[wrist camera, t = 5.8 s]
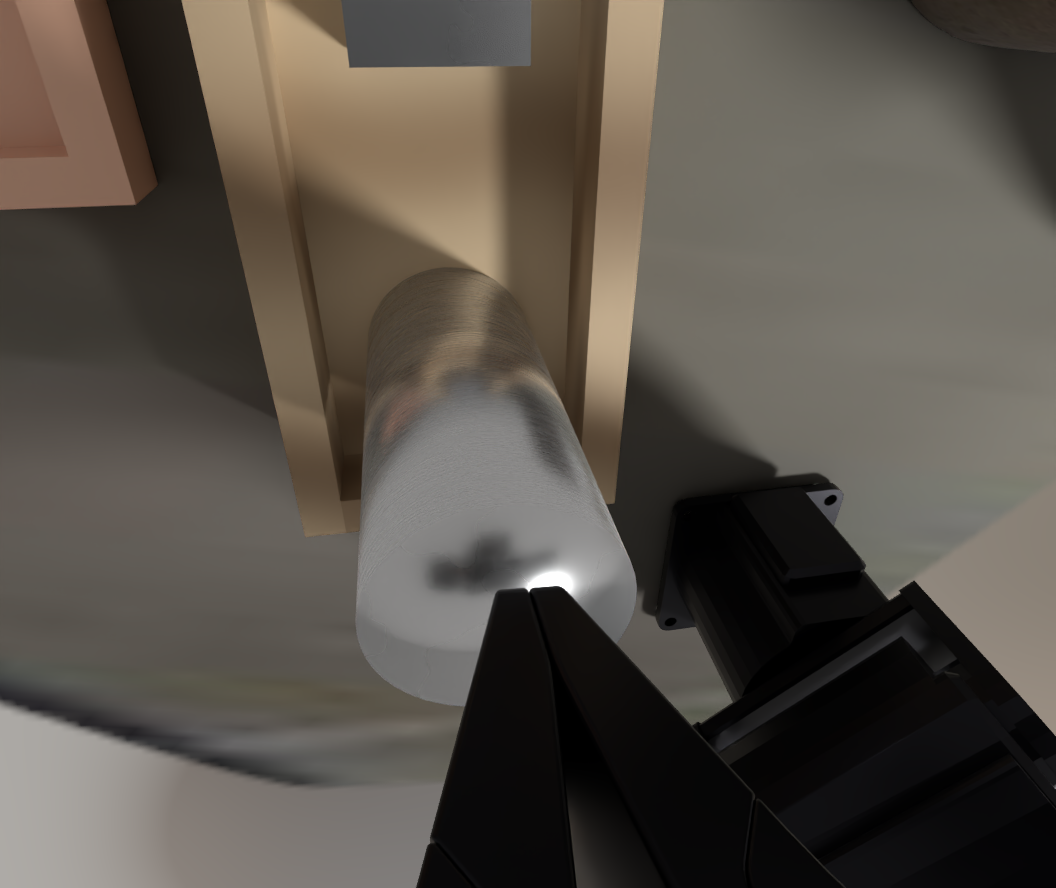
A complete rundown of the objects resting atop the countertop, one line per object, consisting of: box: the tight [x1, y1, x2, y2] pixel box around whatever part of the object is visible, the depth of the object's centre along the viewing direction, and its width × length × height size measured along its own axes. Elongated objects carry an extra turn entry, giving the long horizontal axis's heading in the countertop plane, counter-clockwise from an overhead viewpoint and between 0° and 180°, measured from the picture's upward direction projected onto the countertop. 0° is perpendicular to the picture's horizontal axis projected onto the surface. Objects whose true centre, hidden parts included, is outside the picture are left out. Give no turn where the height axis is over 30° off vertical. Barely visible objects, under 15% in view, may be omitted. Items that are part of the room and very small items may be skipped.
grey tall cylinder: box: [356, 267, 637, 706], centre depth 13 cm, size 4×4×9 cm
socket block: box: [182, 0, 664, 537], centre depth 15 cm, size 16×8×4 cm, turn 179°
